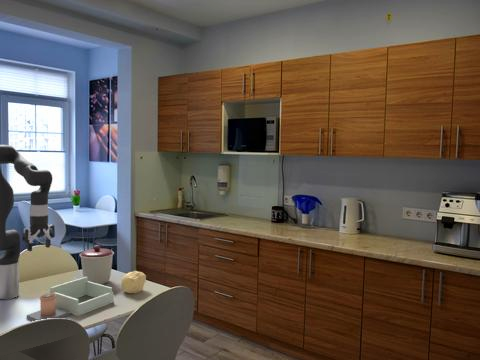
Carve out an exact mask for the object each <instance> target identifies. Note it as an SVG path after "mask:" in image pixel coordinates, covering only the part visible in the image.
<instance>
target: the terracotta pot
mask: <svg viewBox="0 0 480 360" xmlns="http://www.w3.org/2000/svg"><path fill="white" fill-rule="evenodd" d="M55 297H56V294H54V293H50V292H48V293H43V294H40V296H39V300H40V303H39V304H40V306H39V307H40V308H39V309H40V310H41V316H51V315H53V314H55V313H56V300H55Z"/></svg>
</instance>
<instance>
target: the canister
mask: <svg viewBox="0 0 480 360" xmlns="http://www.w3.org/2000/svg"><path fill="white" fill-rule="evenodd" d="M114 255H115V252H114V251H113V250H111V249H108V248H101V246H100V245H98V244H96V245H94V246H93V248H91V249H86V250H84V251H82V252H81V253H79V257H80V261H81V263H80V264H81V270H82V278H84V277H88V281H90V282H93V283H97V284H101V285H105V284H107V283H108V282H109V281H110V278H111V274H112V267H113V256H114Z"/></svg>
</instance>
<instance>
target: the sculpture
mask: <svg viewBox="0 0 480 360" xmlns="http://www.w3.org/2000/svg"><path fill="white" fill-rule="evenodd" d="M146 280H147V275H146V274H145V273H144V272H142V271H139V270H138V271H137V270H133V271H129V272H128V273H126V274H124V275H123V276H122V279H121V290H122V291H123V292H125V293H128V294H138V293H140V292H141V291H143V290H144V287H145V283H146Z"/></svg>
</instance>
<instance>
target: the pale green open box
mask: <svg viewBox="0 0 480 360" xmlns="http://www.w3.org/2000/svg"><path fill="white" fill-rule="evenodd" d="M63 283H64V284H61V283H60V285H59V284H57V285H55V286H51V287H50V289H49V291H50V292H49V293H54V294H56V297H55V300H56V308H58V309H61V310H64V311H67V312H68V314H72V315H74V316H77V317H79V316H82V315H84V314H88V313H89V312H92V311H94V310H97V309H99V308H101V307H104V306H107V305H110V304H112V303H114V292H113V287H112V286H111V287H110V286H107V285H105V284H97V283H93V282H90V281H88V277H84V278H83V277H80V278H78V279H74V280H71V281H67V282H63ZM83 296H84V297H85V296H89V297H91V299H88V300H85V301H83V302H79V301H80V300H79V298H81V297H83Z"/></svg>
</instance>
